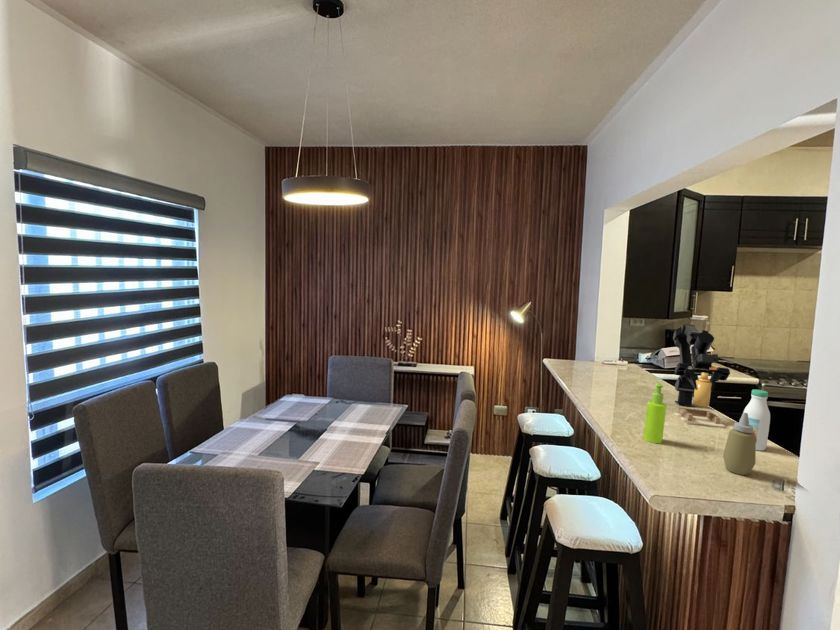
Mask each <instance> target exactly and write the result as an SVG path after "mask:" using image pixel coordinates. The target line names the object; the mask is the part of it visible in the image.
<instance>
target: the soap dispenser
mask: <svg viewBox="0 0 840 630" xmlns="http://www.w3.org/2000/svg"><path fill="white" fill-rule="evenodd" d="M654 385H655V391H653V392H652V394H651V395H652V396H651V400H650V401H646V412H645V420H644V428H643V437H642V439H643V440H644V441H646V442H648V443H650V444H651V443H652V444H662V443H663V435H664V428H665V427H664V426H665V418H666V413H667V404H666V403H664V401H663V400H664V394H663V392H662V388H663V387H664V386H663V383H660V382H654Z"/></svg>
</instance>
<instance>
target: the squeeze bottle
mask: <svg viewBox="0 0 840 630" xmlns="http://www.w3.org/2000/svg"><path fill="white" fill-rule="evenodd" d="M738 421H739V422H734V424H733V428H732V429H730V430H729V432H728V435H727V439H726V443H725V446H724V450H723V453H722V457H723V461H724V462H723V463H724V466H725V469H726V470H727V471H728V472H730V473H734V474H735V475H736V474H737V475H741V476H742V475H743V476H746V475H749V474H750V473H751V472H752V471H753V469H754V467H755V465H756V452H757V450H756V436H755V435H754V434H753V433H752V432H753V426H751V425H749V420H748V413H743V412H742V414H741V417H740V418H739V420H738Z"/></svg>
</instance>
